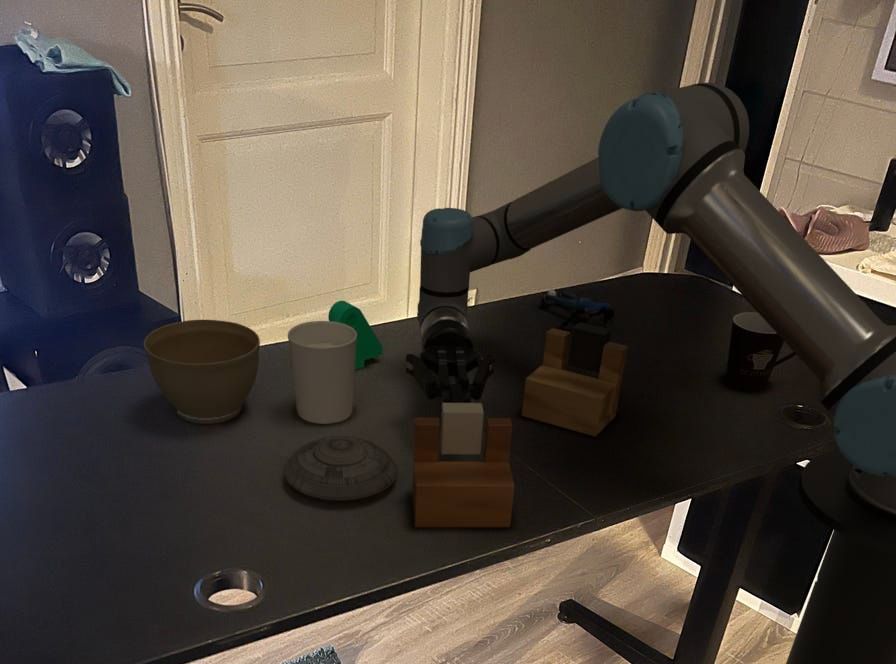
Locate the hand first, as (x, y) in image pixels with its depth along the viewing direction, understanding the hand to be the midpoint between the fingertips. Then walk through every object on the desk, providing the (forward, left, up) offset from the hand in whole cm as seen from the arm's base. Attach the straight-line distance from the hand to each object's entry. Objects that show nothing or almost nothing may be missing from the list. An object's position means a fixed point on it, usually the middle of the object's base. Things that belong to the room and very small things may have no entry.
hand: (458, 415), depth 126 cm
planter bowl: (+33, +22, -9) cm, 41 cm away
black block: (+9, -29, -3) cm, 31 cm away
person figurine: (+37, -50, -9) cm, 63 cm away
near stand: (-8, +4, -9) cm, 13 cm away
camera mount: (+40, -3, -9) cm, 41 cm away
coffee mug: (+2, -59, -9) cm, 60 cm away
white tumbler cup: (+25, +7, -9) cm, 28 cm away
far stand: (+7, -25, -9) cm, 27 cm away
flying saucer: (+6, +14, -9) cm, 18 cm away
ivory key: (-4, +2, -3) cm, 5 cm away
